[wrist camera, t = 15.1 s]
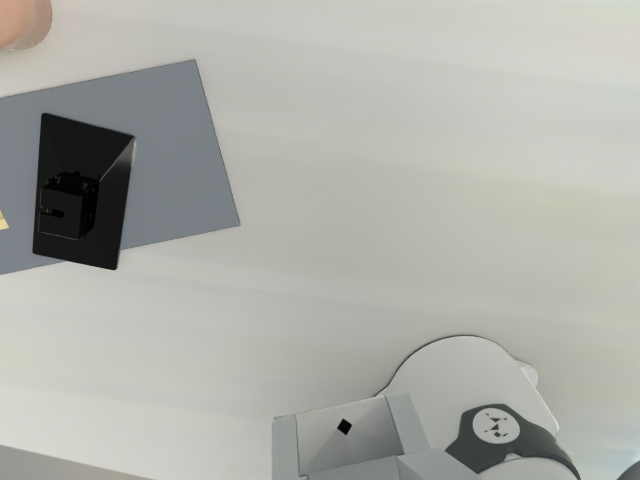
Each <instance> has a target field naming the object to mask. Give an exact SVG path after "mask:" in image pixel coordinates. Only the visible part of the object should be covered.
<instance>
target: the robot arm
mask: <svg viewBox="0 0 640 480" xmlns="http://www.w3.org/2000/svg"><path fill="white" fill-rule="evenodd" d="M538 378H539V377H538V373H537V372H536V370H535V369H534V367H533V366H531V365H529V364H527V363H524V362H521V361H518V360H515V359H514V358H512V357H511V356H510V355H509V354H508V353H507V352H506V351H505V350H504V349H503V348H502V347H500V346H499V345H498V344H496V343H494V342H492V341H490V340H487V339H484V338H480V337H474V336H457V337H450V338H446V339H442V340H439V341H436V342H434V343H431V344H429V345H427V346H425V347H423V348H422V349H420V350H419V351H417V352H416V353H414V354H413V355H412V356H411V357H409V358H408V359H407V360H406V361H405V362H404V363H403V365H402V366H401V367H400V368H399V370H398V371H397V373H396V374H395V376H394V378H393V379H392V381H391V383H390V384H389V385H388V387H386V388H385V389H384V390H382V391H381V392H380V393H379V394H377V395H376V396H375V397H372V398H367V399H363V400H358V401H354V402H349V403H345V404H340V405H336V406H331V407H326V408H320V409H315V410H310V411H304V412H299V413H297V414H291V415H286V416H280V417H274V418H273V422H272V480H581V479H580V476H579V473H578V471H577V470H576V468H575V466H574V465H573V463H572V460H571V458H570V457H569V455H568V454H567V452H566V451H565V449H564V448H563V447H562V446H561V445H560V444H559V443H558V442H557V434H558V431H559V425H558V423H557V421H556V419H555V418H554V416H553V414H552V413H551V411H550V410H549V408H548V407H547V405H546V403H545V402H544V400H543V399H542V397H541V396H540V394H539V393H538V391H537V389H536V386H537V383H538Z"/></svg>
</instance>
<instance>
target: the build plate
mask: <svg viewBox="0 0 640 480" xmlns="http://www.w3.org/2000/svg"><path fill="white" fill-rule="evenodd" d="M137 151H138V143H137V141H136V138H135V136H134V135H131V134H127V133H123V132H119V131H115V130H111V129H108V128H104V127H100V126H96V125H92V124H88V123H84V122H81V121H77V120H73V119H69V118H65V117H61V116H57V115H54V114H50V113H43V114H42V115H41V127H40V142H39V157H38V172H37V187H36V202H35V218H34V233H33V248H32V252H33V254H35V255H40V256H45V257H50V258H55V259H60V260H65V261H70V262H75V263H80V264H85V265H90V266H95V267H100V268H105V269H110V270H116V269H117V267H118V260H119V253H120V246H121V239H122V232H123V225H124V218H125V211H126V204H127V197H128V190H129V183H130V176H131V169H132V167H133V166H134V165H135V163H136V158H137Z"/></svg>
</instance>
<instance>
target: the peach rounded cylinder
mask: <svg viewBox="0 0 640 480" xmlns="http://www.w3.org/2000/svg"><path fill="white" fill-rule="evenodd" d="M51 22H52V7H51V2H50V0H0V49H26V48H30V47H32V46H35V45H36V44H38V43H39V42H41V41H42V40H43V39H44V37H45V36H46V35H47V33H48V31H49V29H50V26H51Z"/></svg>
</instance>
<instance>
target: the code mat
mask: <svg viewBox="0 0 640 480" xmlns="http://www.w3.org/2000/svg"><path fill="white" fill-rule="evenodd" d="M43 113H50V114H54V115H57V116H61V117H65V118H69V119H73V120H77V121H81V122H84V123H88V124H92V125H96V126H100V127H104V128H108V129H111V130H115V131H119V132H123V133H127V134H131V135H134V136H135V138H136V141H137V143H138V151H137V158H136V163H135V165H134V166H133V167H132V169H131V176H130V183H129V190H128V197H127V204H126V211H125V218H124V225H123V232H122V239H121V246H120V250H123V249H128V248H133V247H138V246H143V245H148V244H153V243H158V242H162V241H167V240H172V239H177V238H182V237H187V236H192V235H197V234H202V233H206V232H211V231H216V230H221V229H226V228H231V227H236V226H240V222H239V218H238V214H237V211H236V207H235V203H234V200H233V196H232V192H231V189H230V185H229V181H228V178H227V174H226V170H225V167H224V163H223V159H222V156H221V152H220V148H219V145H218V141H217V137H216V134H215V130H214V126H213V123H212V119H211V115H210V112H209V108H208V104H207V101H206V97H205V93H204V90H203V86H202V82H201V79H200V75H199V71H198V68H197V64H196V60H191V61H186V62H181V63H176V64H171V65H166V66H161V67H156V68H151V69H146V70H141V71H136V72H131V73H126V74H121V75H116V76H111V77H106V78H101V79H96V80H91V81H86V82H81V83H76V84H71V85H66V86H61V87H55V88H50V89H45V90H40V91H35V92H30V93H25V94H20V95H15V96H10V97H5V98H0V275H1V274H6V273H11V272H16V271H21V270H26V269H31V268H36V267H40V266H45V265H50V264H55V263H60V262H65V260H60V259H55V258H50V257H45V256H40V255H35V254H33V252H32V248H33V233H34V218H35V202H36V187H37V172H38V157H39V142H40V127H41V115H42V114H43Z"/></svg>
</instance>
